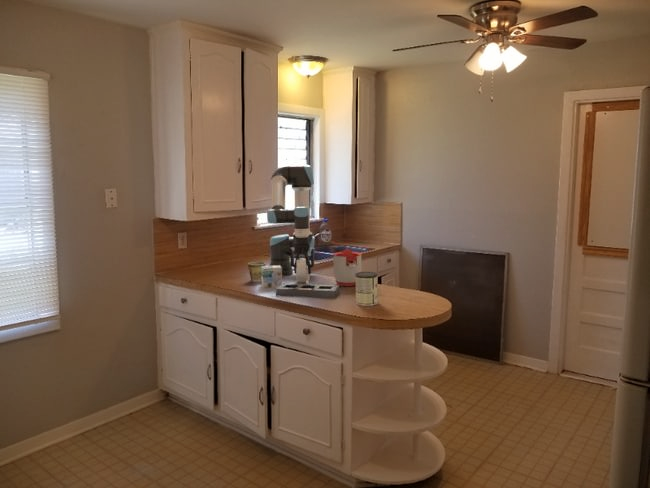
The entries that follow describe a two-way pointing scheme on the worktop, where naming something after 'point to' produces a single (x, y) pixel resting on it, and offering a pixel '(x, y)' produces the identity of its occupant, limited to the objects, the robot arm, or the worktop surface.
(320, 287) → the grey flat slotted block
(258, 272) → the ceramic cup
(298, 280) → the beige square block
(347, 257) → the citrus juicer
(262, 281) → the light bulb box
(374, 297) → the coffee can
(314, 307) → the worktop surface
